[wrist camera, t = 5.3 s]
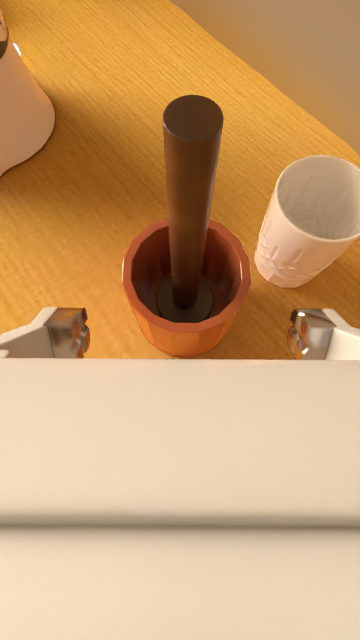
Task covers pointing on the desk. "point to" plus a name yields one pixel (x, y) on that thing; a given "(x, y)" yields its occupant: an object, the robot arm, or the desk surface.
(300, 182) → the white cup
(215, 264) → the utensil holder
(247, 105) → the desk surface
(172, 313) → the brown dowel on base
